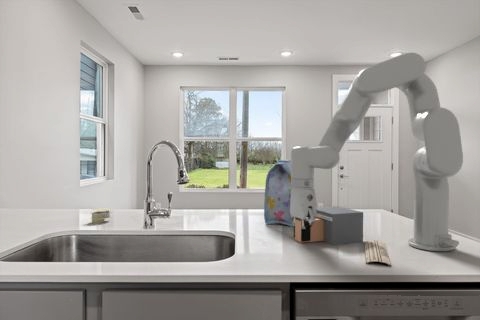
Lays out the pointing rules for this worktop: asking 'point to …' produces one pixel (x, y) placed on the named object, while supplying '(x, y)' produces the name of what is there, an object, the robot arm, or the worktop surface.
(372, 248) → the newspaper
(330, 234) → the grey box
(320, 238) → the orange rectangular block
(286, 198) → the lunch bag
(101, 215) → the pale yellow grooved block
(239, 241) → the worktop surface
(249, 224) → the worktop surface
